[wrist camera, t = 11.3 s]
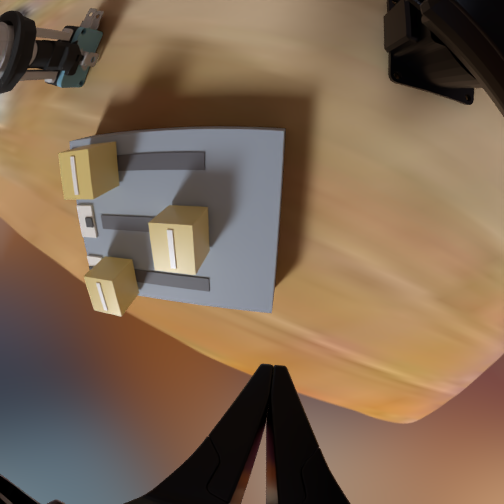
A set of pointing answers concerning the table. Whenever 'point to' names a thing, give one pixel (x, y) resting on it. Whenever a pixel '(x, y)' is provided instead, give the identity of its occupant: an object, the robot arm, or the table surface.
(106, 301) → the slider
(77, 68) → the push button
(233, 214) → the switch unit
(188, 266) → the slider
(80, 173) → the slider
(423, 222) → the table surface
